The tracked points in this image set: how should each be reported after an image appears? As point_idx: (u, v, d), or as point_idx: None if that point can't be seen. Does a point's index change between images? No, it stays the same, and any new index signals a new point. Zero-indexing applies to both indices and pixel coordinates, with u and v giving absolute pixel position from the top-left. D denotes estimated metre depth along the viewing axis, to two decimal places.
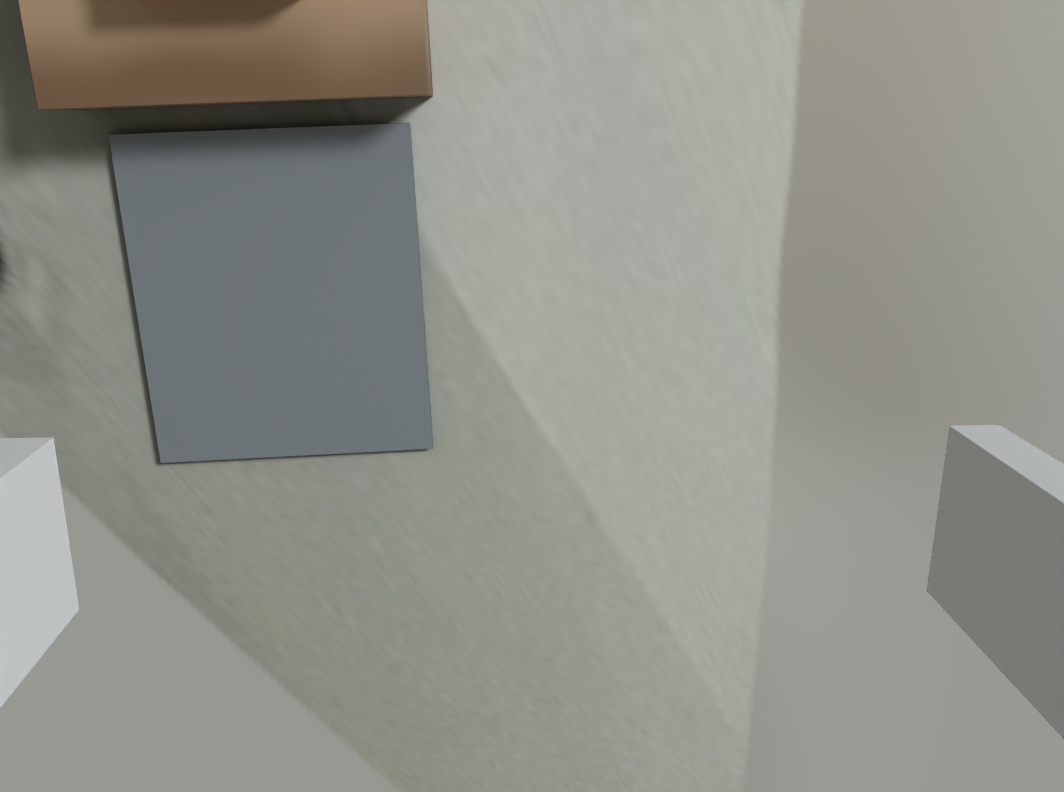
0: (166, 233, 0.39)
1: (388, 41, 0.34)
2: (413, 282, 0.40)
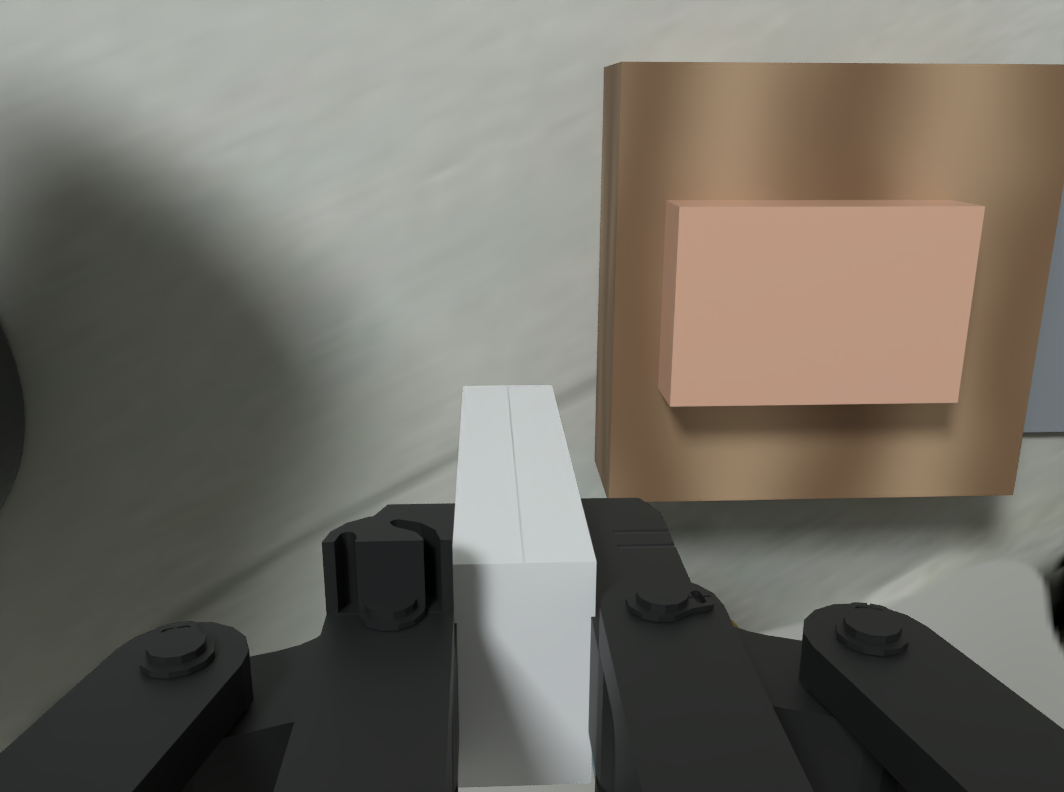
0: None
1: (1016, 108, 0.29)
2: None
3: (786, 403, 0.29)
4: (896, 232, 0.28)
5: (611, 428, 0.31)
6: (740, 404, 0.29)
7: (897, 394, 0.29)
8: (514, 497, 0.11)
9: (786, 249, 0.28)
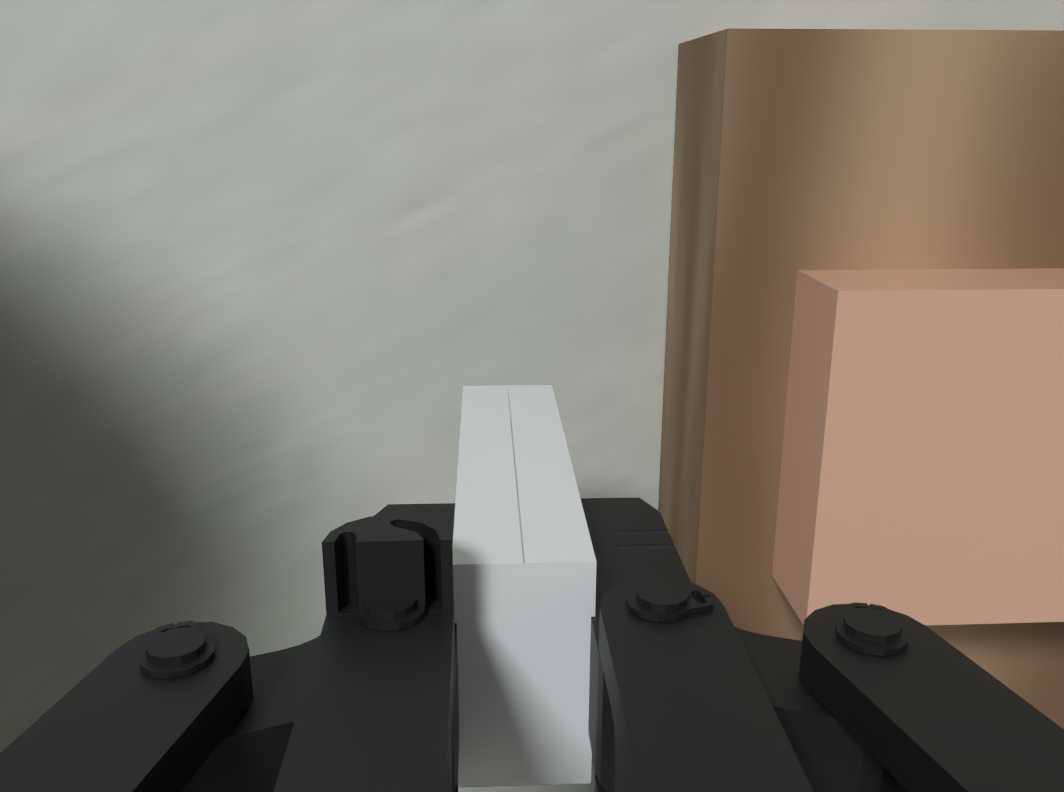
0: None
1: None
2: None
3: (1006, 621, 0.17)
4: None
5: None
6: (926, 622, 0.17)
7: None
8: (514, 497, 0.11)
9: (1024, 364, 0.15)
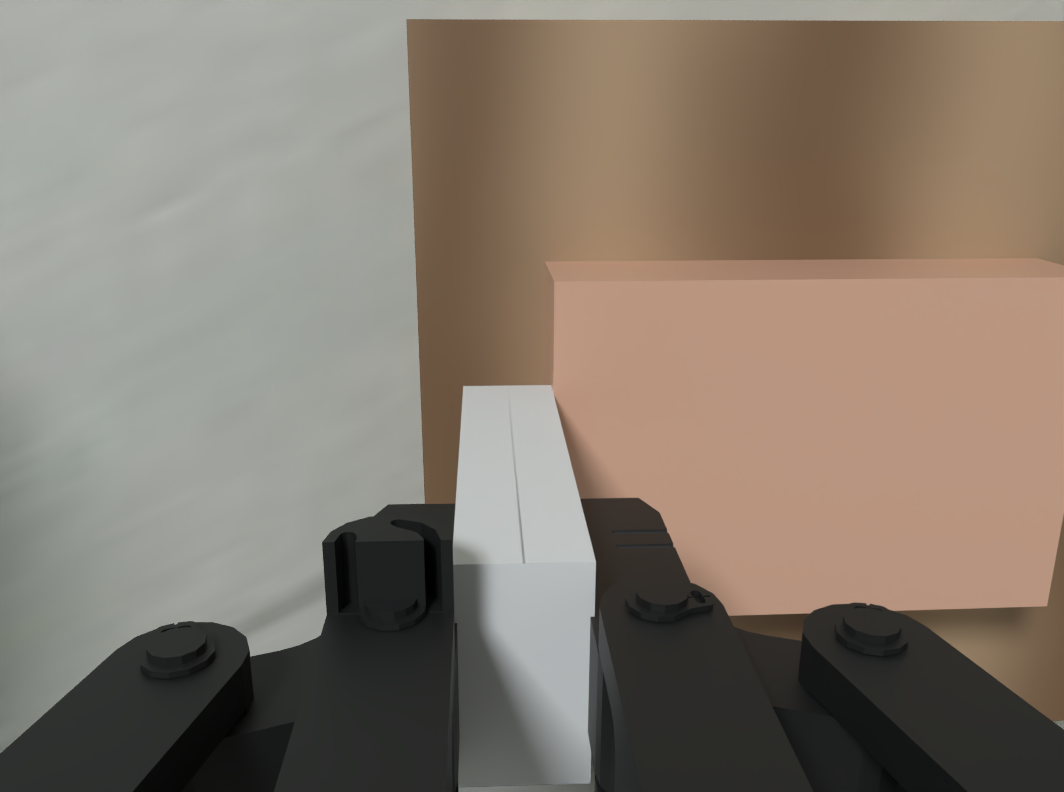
0: None
1: None
2: None
3: (753, 613, 0.17)
4: (946, 323, 0.15)
5: None
6: None
7: (944, 594, 0.17)
8: (514, 497, 0.11)
9: (750, 355, 0.15)
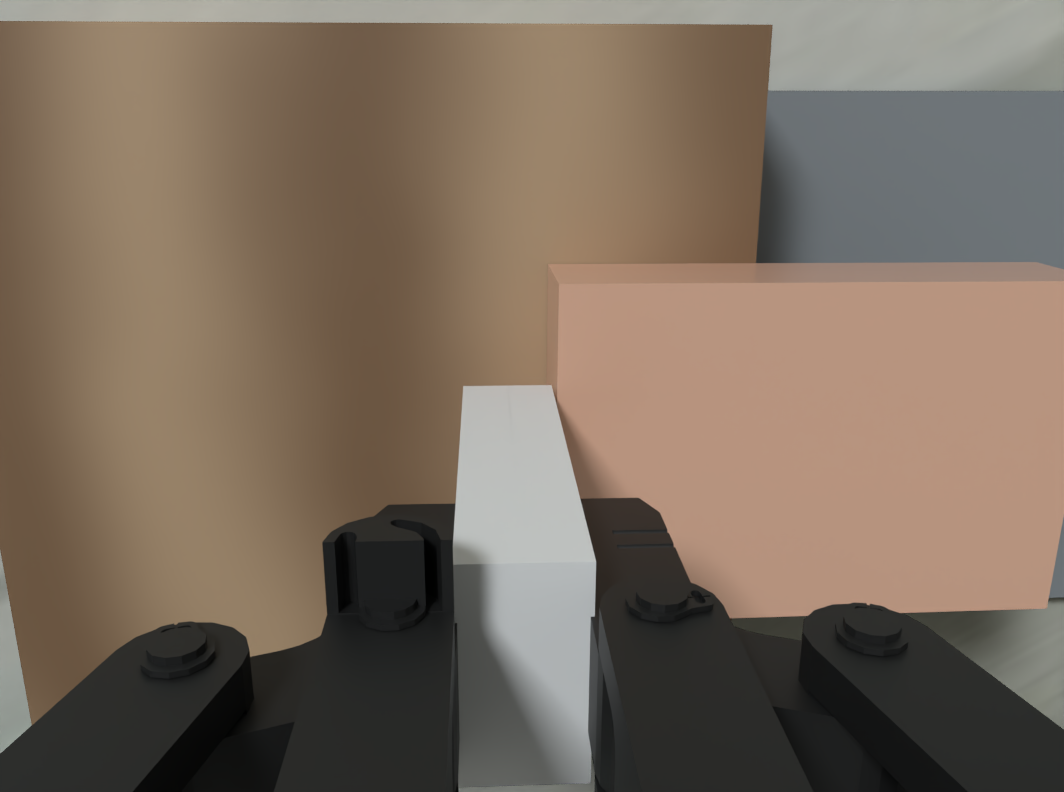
0: None
1: (659, 104, 0.16)
2: None
3: (755, 615, 0.17)
4: (948, 327, 0.16)
5: (20, 648, 0.18)
6: None
7: (945, 597, 0.17)
8: (514, 497, 0.11)
9: (754, 357, 0.15)
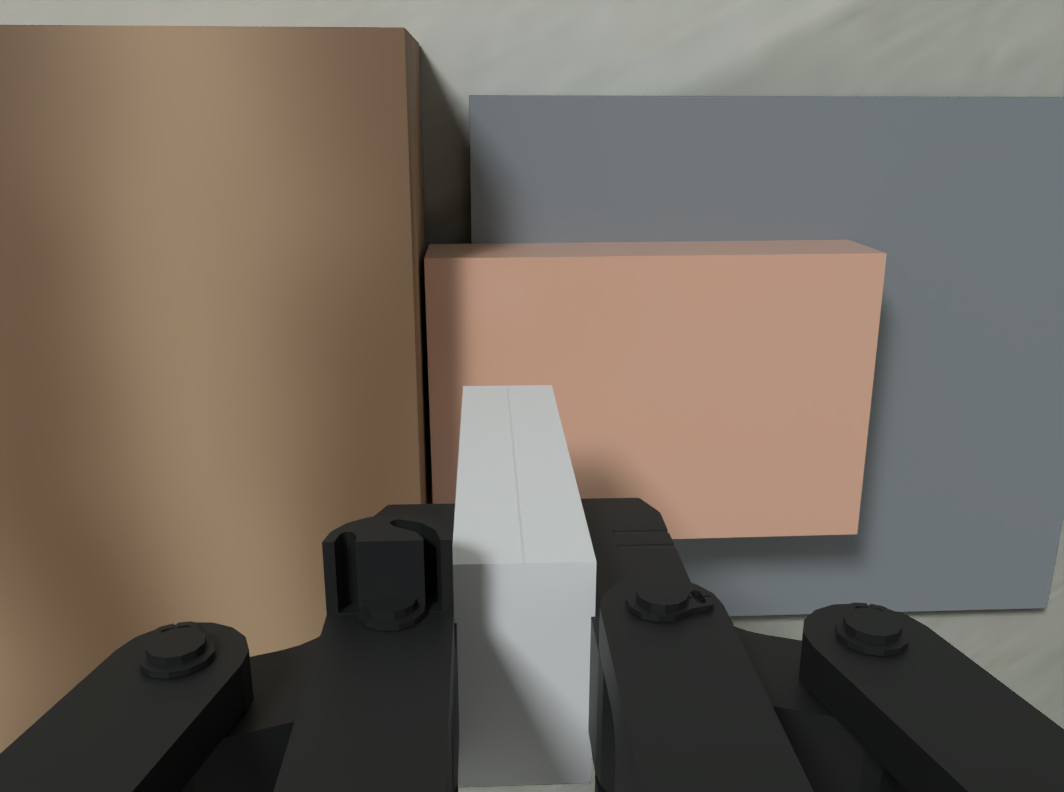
0: None
1: (293, 109, 0.16)
2: (785, 111, 0.20)
3: None
4: (754, 293, 0.19)
5: None
6: None
7: (768, 524, 0.20)
8: (514, 497, 0.11)
9: (591, 319, 0.19)
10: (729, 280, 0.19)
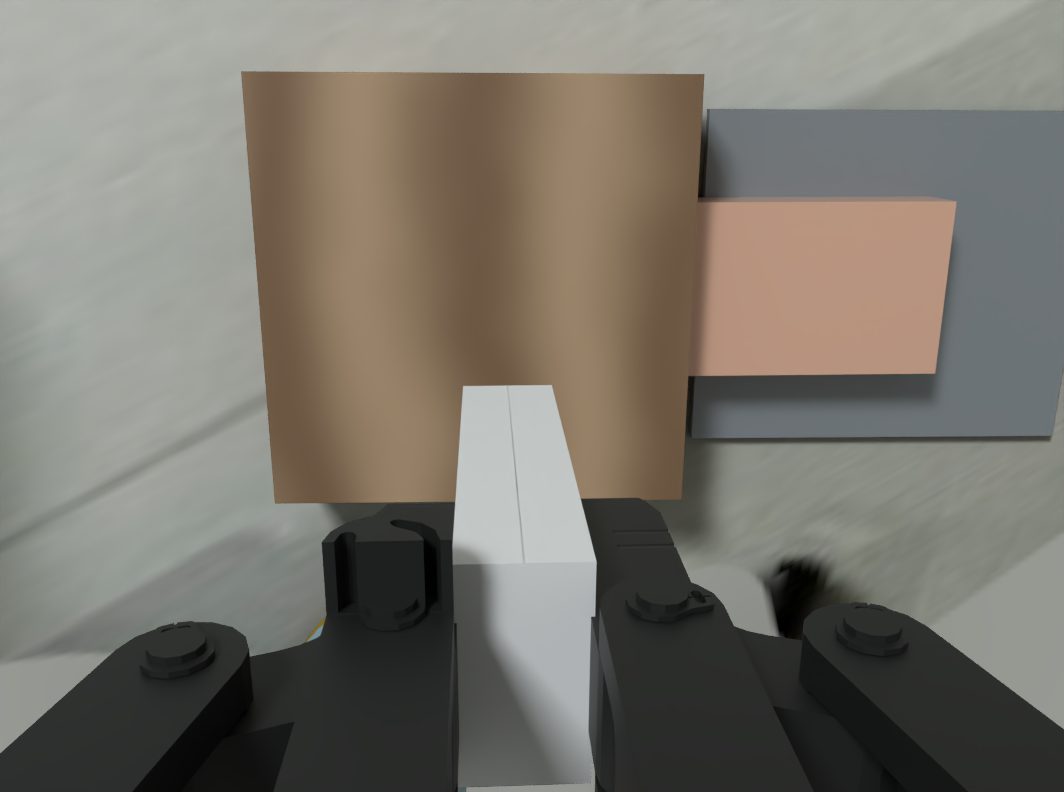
0: (798, 394, 0.36)
1: (641, 117, 0.29)
2: (894, 119, 0.33)
3: (784, 373, 0.33)
4: (879, 224, 0.32)
5: (270, 430, 0.32)
6: None
7: (882, 366, 0.34)
8: (514, 497, 0.11)
9: (783, 239, 0.32)
10: (864, 216, 0.32)
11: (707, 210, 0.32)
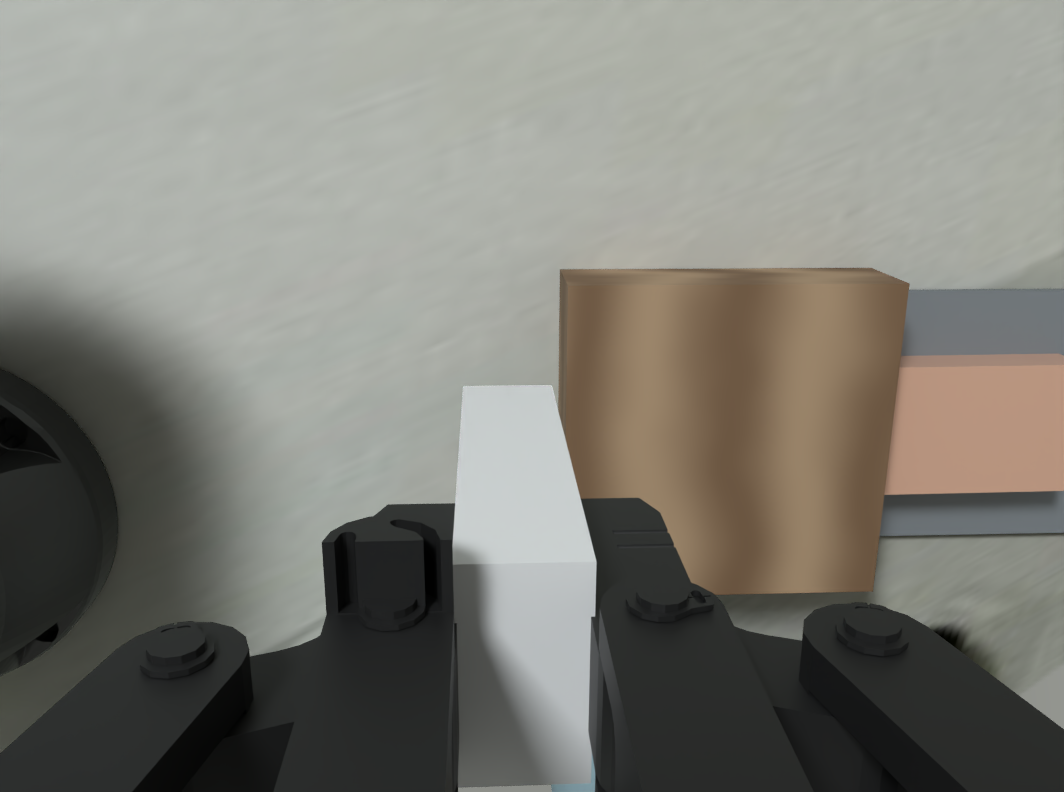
0: (950, 502, 0.46)
1: (861, 314, 0.39)
2: (1034, 297, 0.43)
3: (949, 492, 0.43)
4: (1026, 381, 0.42)
5: None
6: (918, 493, 0.43)
7: (1023, 485, 0.43)
8: (514, 497, 0.11)
9: (953, 393, 0.42)
10: (1015, 376, 0.42)
11: None
